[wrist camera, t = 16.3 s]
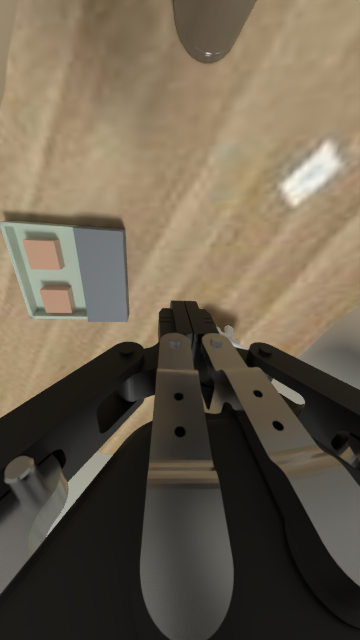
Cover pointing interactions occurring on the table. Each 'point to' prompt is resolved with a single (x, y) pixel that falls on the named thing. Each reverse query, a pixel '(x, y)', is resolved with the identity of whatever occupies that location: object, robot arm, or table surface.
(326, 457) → the robot arm
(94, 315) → the grey flat block
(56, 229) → the tray
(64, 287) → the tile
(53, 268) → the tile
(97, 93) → the table surface
